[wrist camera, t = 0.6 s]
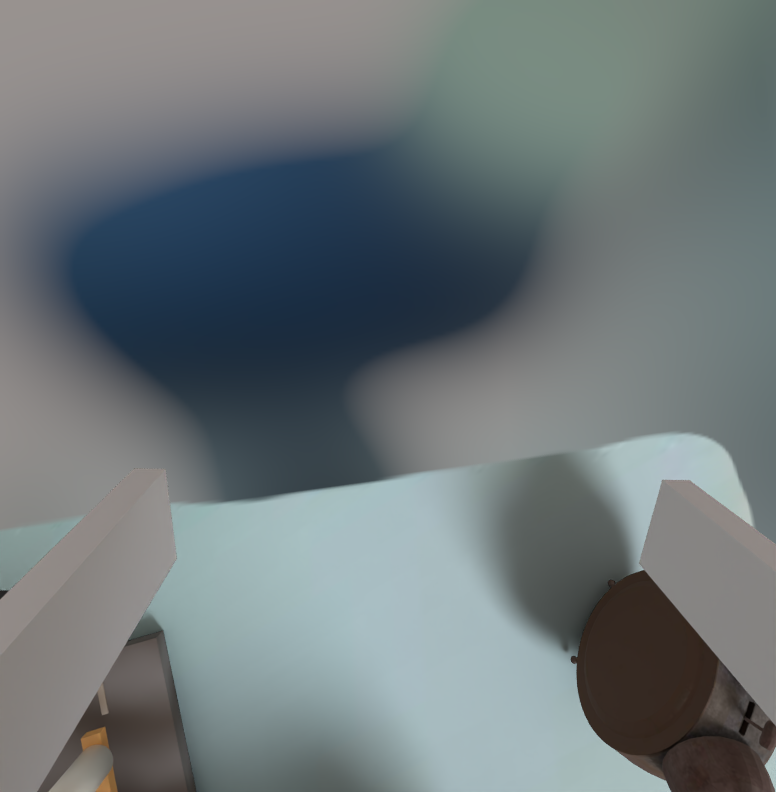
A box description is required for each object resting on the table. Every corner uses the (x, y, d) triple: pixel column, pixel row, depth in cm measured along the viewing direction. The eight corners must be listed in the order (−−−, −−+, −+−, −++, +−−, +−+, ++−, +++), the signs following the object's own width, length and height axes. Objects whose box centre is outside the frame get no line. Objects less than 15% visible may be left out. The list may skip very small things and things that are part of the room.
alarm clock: (608, 718, 43) (839, 954, 23) (544, 680, 42) (721, 885, 23) (671, 580, 45) (933, 686, 25) (611, 543, 45) (826, 620, 25)
